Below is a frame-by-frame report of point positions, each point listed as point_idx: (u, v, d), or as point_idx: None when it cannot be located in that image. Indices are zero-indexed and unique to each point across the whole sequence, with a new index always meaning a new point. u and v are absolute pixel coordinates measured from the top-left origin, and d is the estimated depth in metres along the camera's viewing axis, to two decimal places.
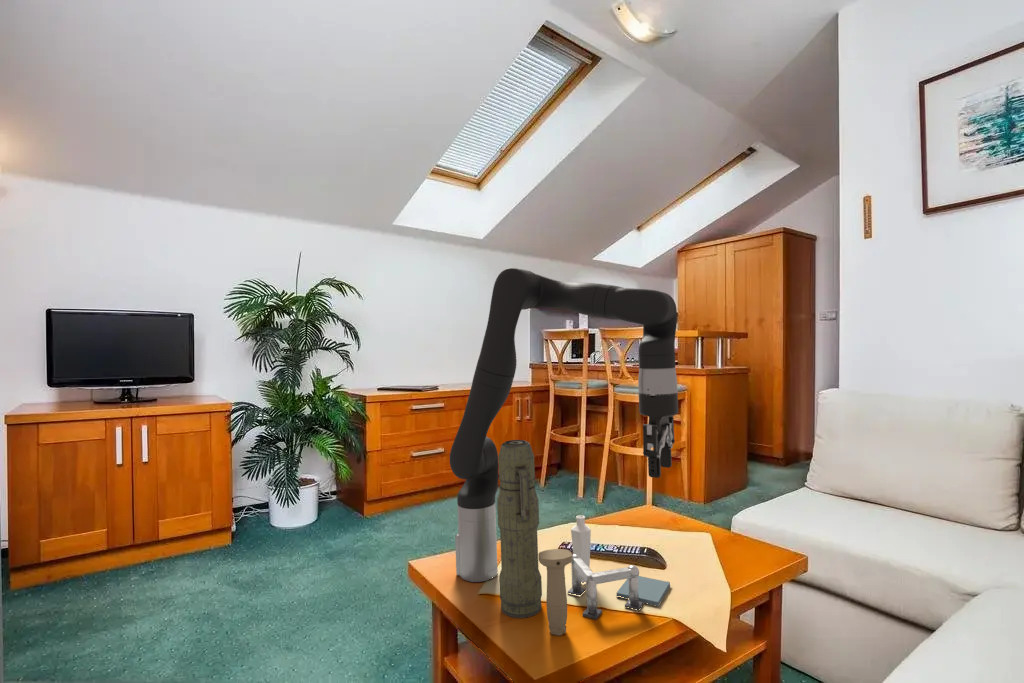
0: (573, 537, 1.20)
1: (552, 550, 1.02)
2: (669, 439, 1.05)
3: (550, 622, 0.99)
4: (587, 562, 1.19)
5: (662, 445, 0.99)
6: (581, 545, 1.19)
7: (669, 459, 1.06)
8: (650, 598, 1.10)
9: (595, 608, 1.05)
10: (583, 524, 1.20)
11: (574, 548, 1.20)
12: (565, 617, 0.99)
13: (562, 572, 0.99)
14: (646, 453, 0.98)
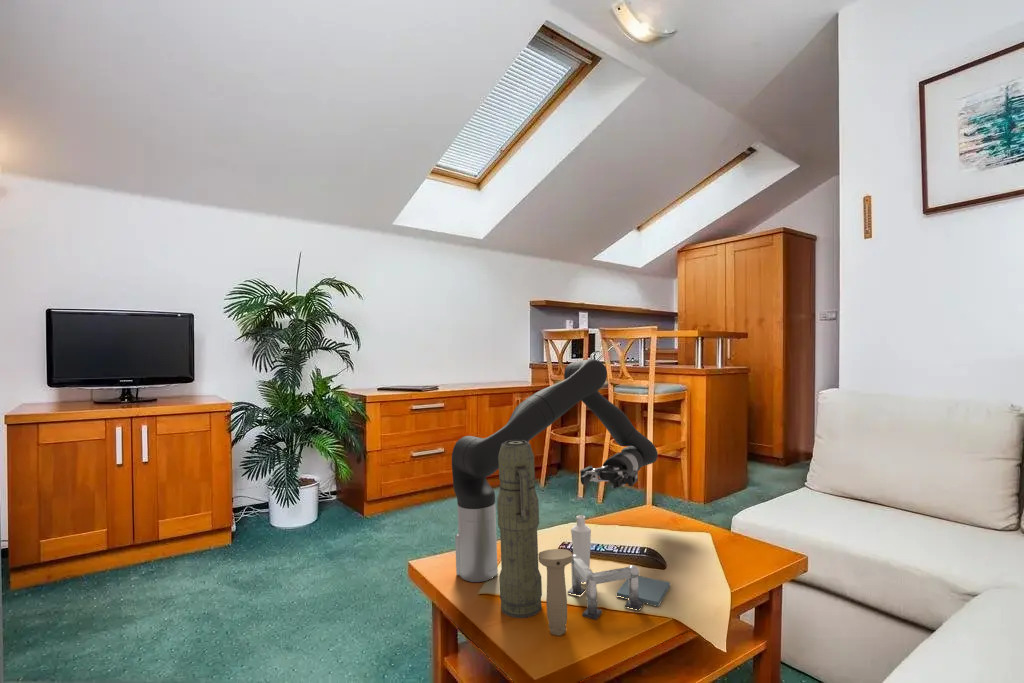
0: (573, 537, 1.20)
1: (552, 550, 1.02)
2: (597, 480, 1.37)
3: (550, 622, 0.99)
4: (587, 562, 1.19)
5: None
6: (581, 545, 1.19)
7: (586, 482, 1.34)
8: (650, 598, 1.10)
9: (595, 608, 1.05)
10: (583, 524, 1.20)
11: (574, 548, 1.20)
12: (565, 617, 0.99)
13: (562, 572, 0.99)
14: (632, 478, 1.31)
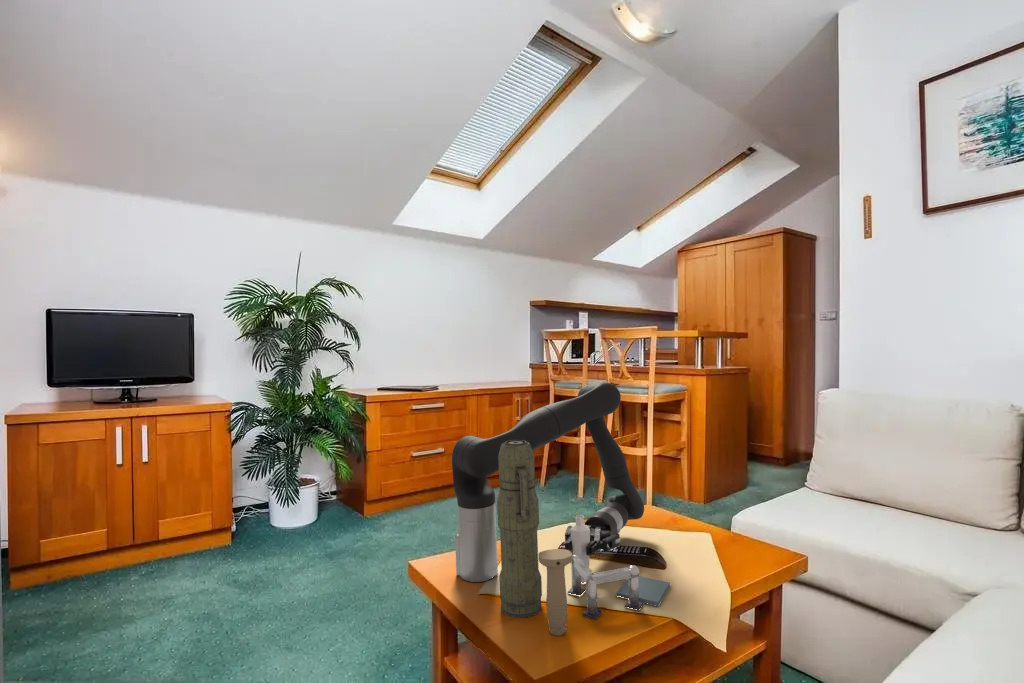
0: (573, 537, 1.20)
1: (552, 550, 1.02)
2: None
3: (550, 622, 0.99)
4: (586, 562, 1.19)
5: None
6: (581, 545, 1.19)
7: (571, 548, 1.21)
8: (650, 598, 1.10)
9: (595, 608, 1.05)
10: (582, 524, 1.20)
11: (574, 548, 1.20)
12: (565, 617, 0.99)
13: (562, 572, 0.99)
14: (607, 543, 1.20)
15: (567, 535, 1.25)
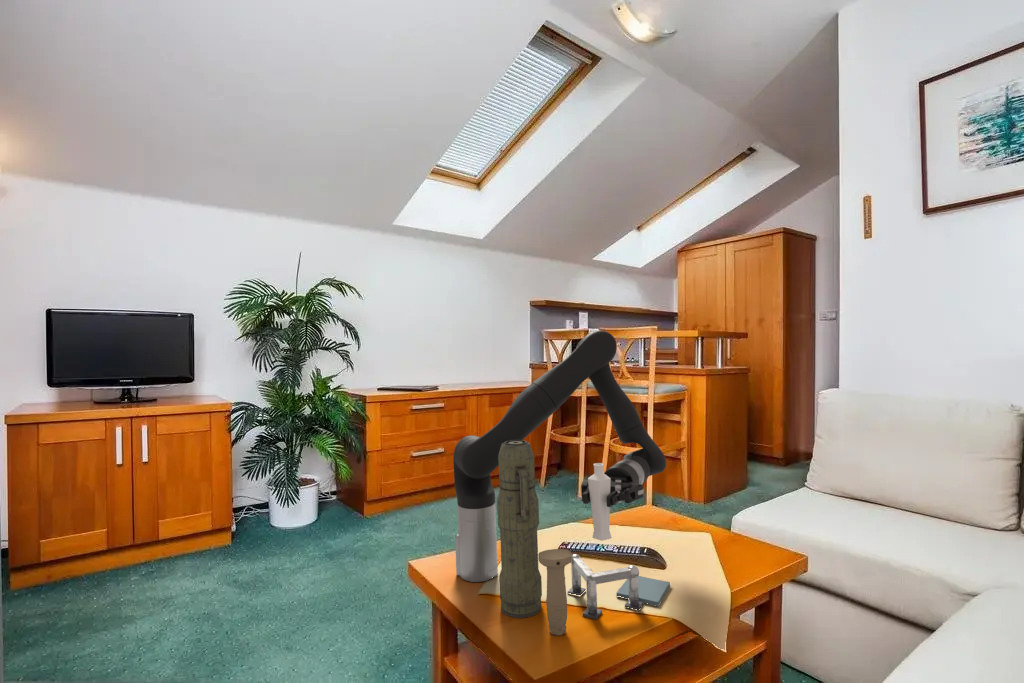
0: (591, 487, 1.06)
1: (552, 550, 1.02)
2: None
3: (550, 622, 0.99)
4: (606, 515, 1.05)
5: None
6: (600, 495, 1.04)
7: (589, 500, 1.07)
8: (650, 598, 1.10)
9: (595, 608, 1.05)
10: (602, 472, 1.06)
11: (592, 499, 1.06)
12: (565, 617, 0.99)
13: (562, 572, 0.99)
14: (630, 493, 1.06)
15: (584, 487, 1.11)
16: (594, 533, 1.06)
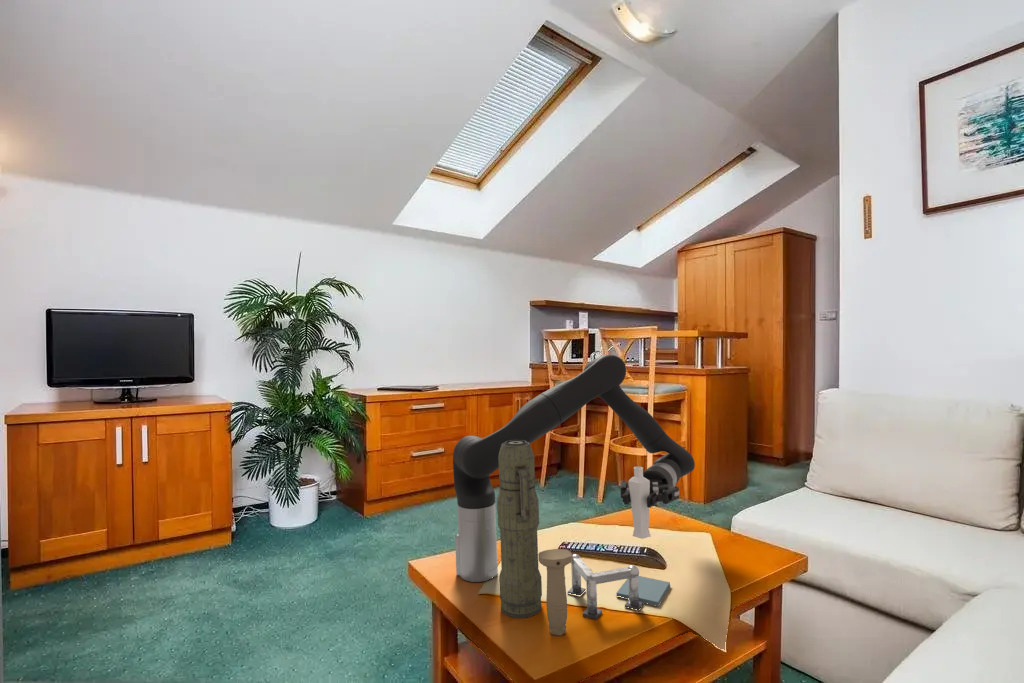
0: (631, 488, 1.14)
1: (552, 550, 1.02)
2: None
3: (550, 622, 0.99)
4: (646, 515, 1.13)
5: None
6: (641, 497, 1.12)
7: (629, 501, 1.15)
8: (650, 598, 1.10)
9: (595, 608, 1.05)
10: (641, 475, 1.14)
11: (632, 500, 1.14)
12: (565, 617, 0.99)
13: (562, 572, 0.99)
14: (667, 495, 1.14)
15: (623, 489, 1.18)
16: (634, 532, 1.14)
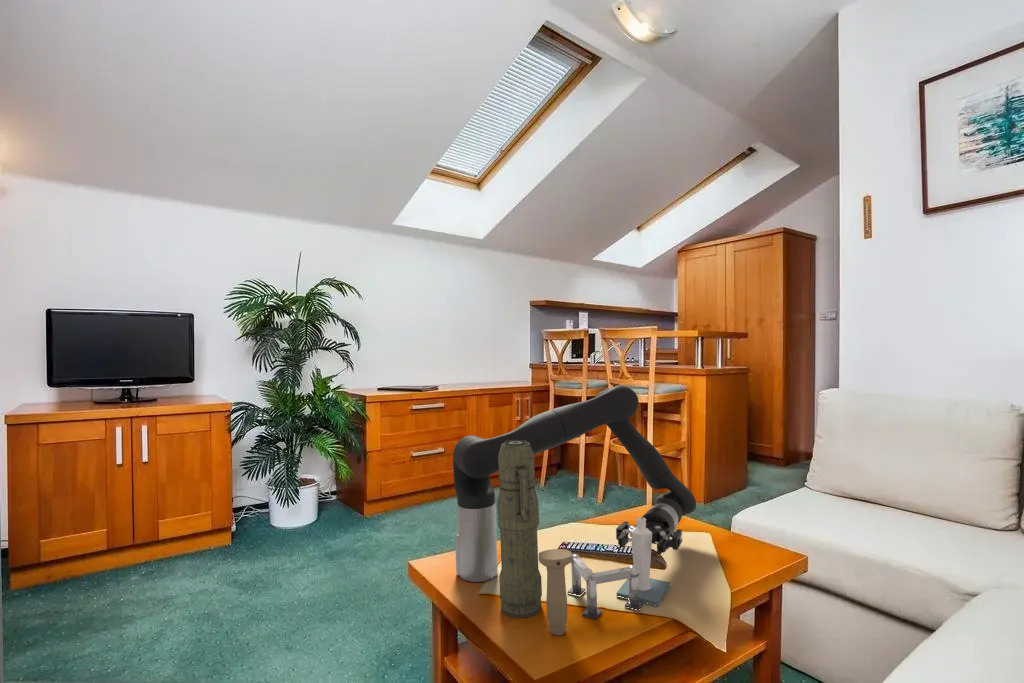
0: (633, 540, 1.14)
1: (553, 550, 1.02)
2: None
3: (550, 622, 0.99)
4: (647, 567, 1.13)
5: None
6: (642, 549, 1.13)
7: (625, 544, 1.16)
8: (650, 598, 1.10)
9: (595, 608, 1.05)
10: (644, 527, 1.14)
11: (634, 552, 1.14)
12: (565, 617, 0.99)
13: (562, 572, 0.99)
14: (677, 540, 1.14)
15: (618, 530, 1.20)
16: None
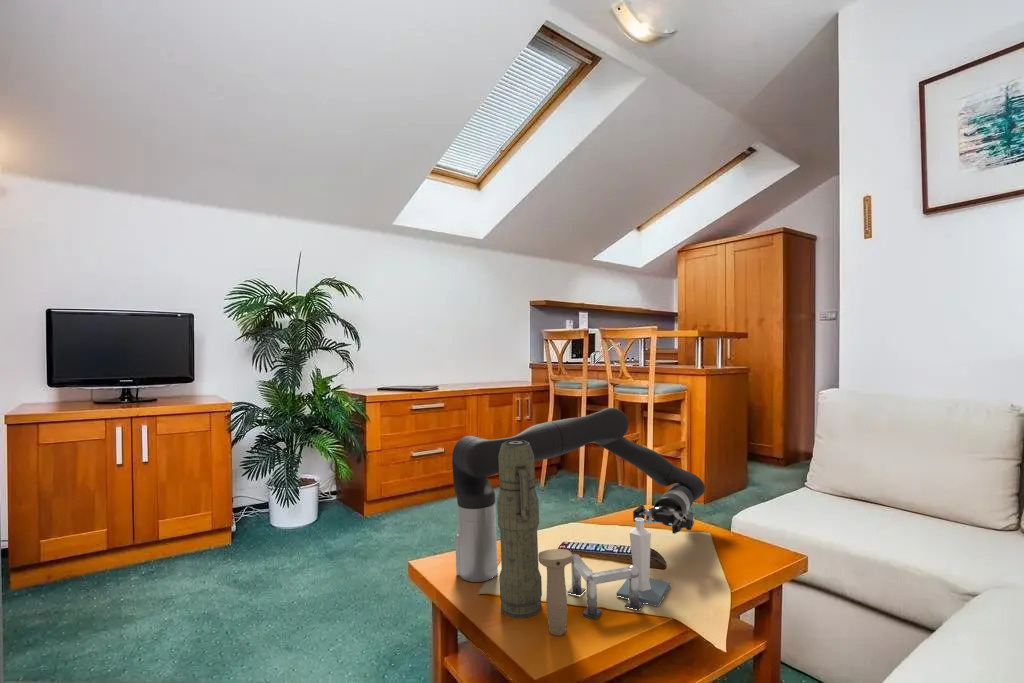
0: (632, 540, 1.14)
1: (552, 550, 1.02)
2: (651, 522, 1.31)
3: (550, 622, 0.99)
4: (647, 567, 1.13)
5: None
6: (641, 549, 1.13)
7: None
8: (650, 598, 1.10)
9: (595, 608, 1.05)
10: (643, 527, 1.14)
11: (633, 552, 1.14)
12: (565, 617, 0.99)
13: (562, 572, 0.99)
14: (690, 521, 1.25)
15: (635, 513, 1.31)
16: None
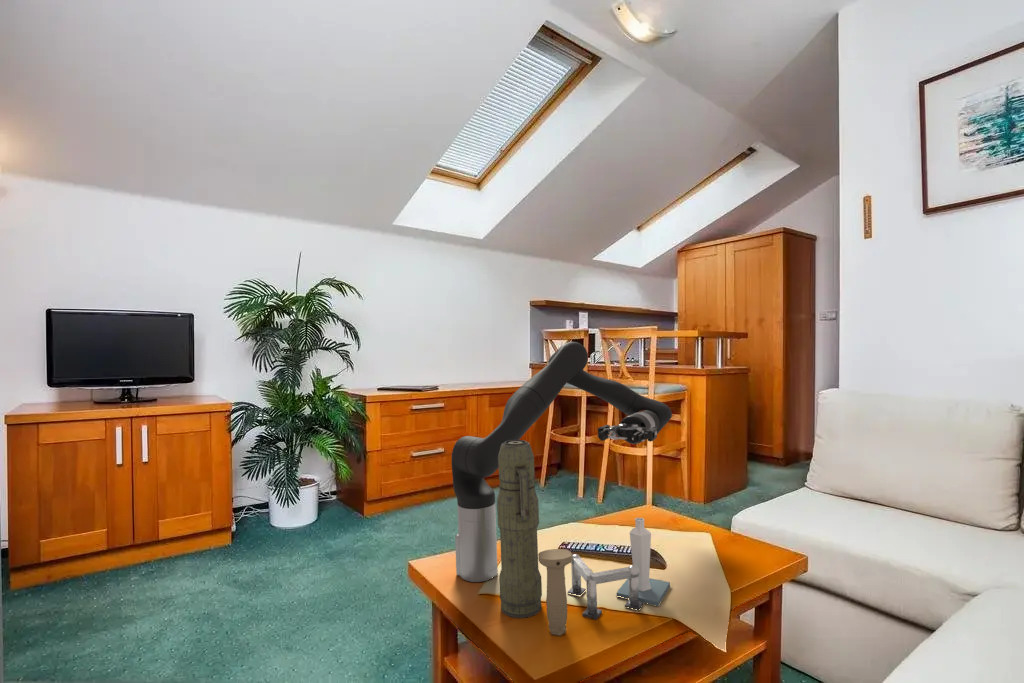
0: (632, 540, 1.14)
1: (552, 550, 1.02)
2: (615, 437, 1.33)
3: (550, 622, 0.99)
4: (647, 567, 1.13)
5: None
6: (641, 549, 1.13)
7: (605, 438, 1.30)
8: (650, 598, 1.10)
9: (595, 608, 1.05)
10: (643, 527, 1.14)
11: (633, 552, 1.14)
12: (565, 617, 0.99)
13: (562, 572, 0.99)
14: (652, 433, 1.27)
15: (599, 429, 1.34)
16: None
